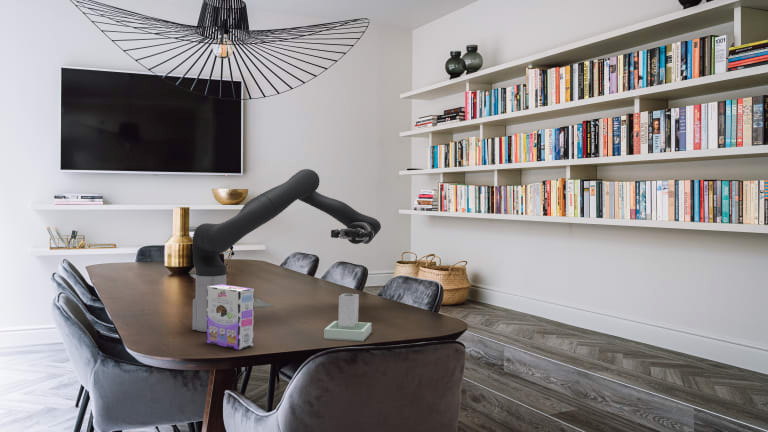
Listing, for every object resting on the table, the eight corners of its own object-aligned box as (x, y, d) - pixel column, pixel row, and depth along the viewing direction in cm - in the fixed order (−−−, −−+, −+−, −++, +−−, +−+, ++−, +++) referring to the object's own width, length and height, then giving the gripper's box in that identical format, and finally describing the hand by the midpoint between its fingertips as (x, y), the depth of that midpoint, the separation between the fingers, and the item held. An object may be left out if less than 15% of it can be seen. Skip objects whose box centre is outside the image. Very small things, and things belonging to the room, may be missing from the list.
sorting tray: (324, 338, 171) (324, 329, 171) (334, 330, 183) (334, 320, 183) (363, 341, 169) (363, 331, 169) (371, 332, 181) (371, 323, 181)
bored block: (338, 335, 174) (338, 295, 174) (342, 331, 179) (343, 293, 179) (354, 336, 173) (355, 296, 173) (357, 332, 178) (358, 293, 178)
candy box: (254, 346, 161) (255, 288, 161) (238, 350, 156) (239, 290, 156) (221, 338, 169) (222, 283, 168) (205, 342, 164) (206, 285, 164)
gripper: (339, 221, 206) (327, 223, 190) (378, 222, 203) (369, 224, 187) (339, 242, 206) (326, 245, 190) (377, 243, 204) (368, 247, 188)
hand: (347, 235), depth 189 cm, fingers open, 8 cm apart
